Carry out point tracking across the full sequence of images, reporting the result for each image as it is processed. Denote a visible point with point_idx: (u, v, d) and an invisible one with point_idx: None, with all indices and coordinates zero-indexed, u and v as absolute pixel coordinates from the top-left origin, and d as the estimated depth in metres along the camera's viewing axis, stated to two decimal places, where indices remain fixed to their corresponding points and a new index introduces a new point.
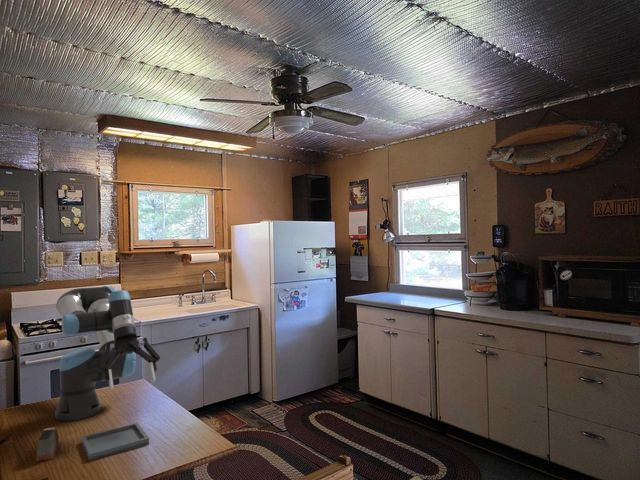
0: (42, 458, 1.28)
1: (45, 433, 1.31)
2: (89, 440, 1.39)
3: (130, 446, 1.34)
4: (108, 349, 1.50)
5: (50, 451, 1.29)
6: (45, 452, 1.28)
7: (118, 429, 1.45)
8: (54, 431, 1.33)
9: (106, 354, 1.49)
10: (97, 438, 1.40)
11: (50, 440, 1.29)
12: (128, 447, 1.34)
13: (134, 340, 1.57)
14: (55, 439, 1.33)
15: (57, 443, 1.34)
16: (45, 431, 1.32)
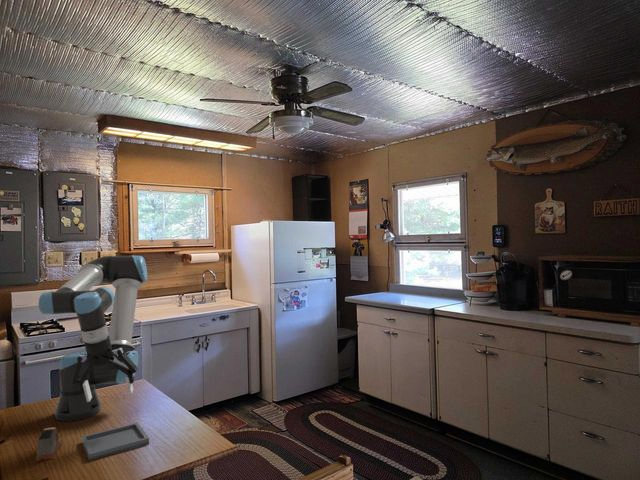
0: (42, 458, 1.28)
1: (45, 433, 1.31)
2: (89, 440, 1.39)
3: (130, 446, 1.34)
4: (80, 364, 1.42)
5: (50, 450, 1.29)
6: (45, 452, 1.28)
7: (118, 429, 1.45)
8: (54, 431, 1.33)
9: (78, 369, 1.42)
10: (97, 438, 1.40)
11: (50, 440, 1.29)
12: (128, 447, 1.34)
13: (107, 353, 1.43)
14: (55, 439, 1.33)
15: (57, 443, 1.34)
16: (46, 430, 1.32)
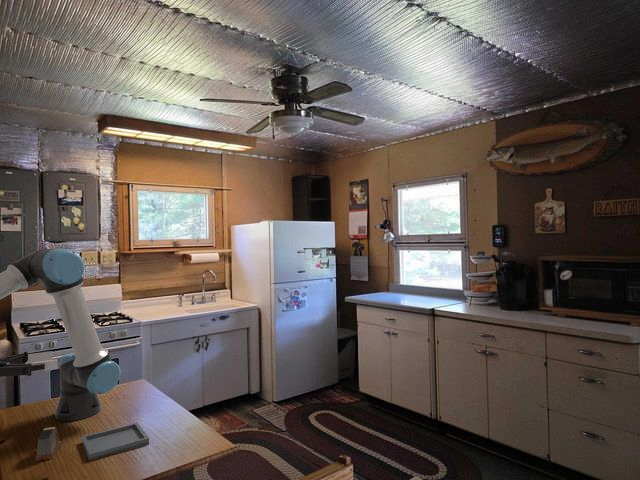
0: (42, 458, 1.28)
1: (45, 432, 1.31)
2: (89, 440, 1.39)
3: (130, 446, 1.34)
4: None
5: (50, 450, 1.29)
6: (45, 452, 1.28)
7: (118, 429, 1.45)
8: (54, 431, 1.33)
9: None
10: (97, 438, 1.40)
11: (50, 440, 1.29)
12: (128, 447, 1.34)
13: None
14: (55, 439, 1.33)
15: (57, 443, 1.34)
16: (45, 430, 1.32)
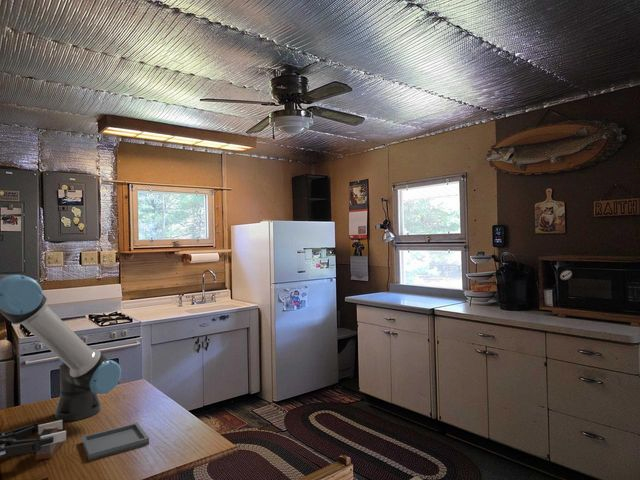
0: (41, 457, 1.28)
1: (45, 432, 1.31)
2: (89, 440, 1.39)
3: (130, 446, 1.34)
4: None
5: (49, 450, 1.29)
6: (45, 451, 1.29)
7: (118, 429, 1.45)
8: (55, 430, 1.33)
9: None
10: (97, 438, 1.40)
11: None
12: (128, 447, 1.34)
13: None
14: None
15: (57, 442, 1.34)
16: (46, 430, 1.32)
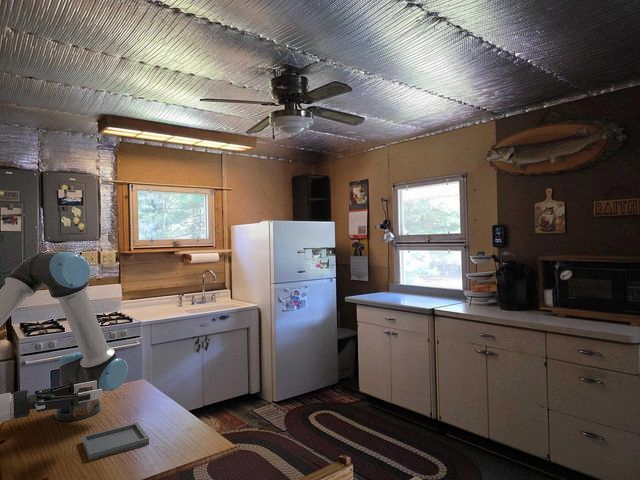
0: (78, 414, 1.30)
1: (82, 390, 1.33)
2: (89, 440, 1.39)
3: (130, 446, 1.34)
4: None
5: (86, 407, 1.31)
6: (82, 408, 1.31)
7: (118, 429, 1.45)
8: (90, 389, 1.35)
9: None
10: (97, 438, 1.40)
11: None
12: (128, 447, 1.34)
13: None
14: None
15: (93, 401, 1.36)
16: (82, 388, 1.34)
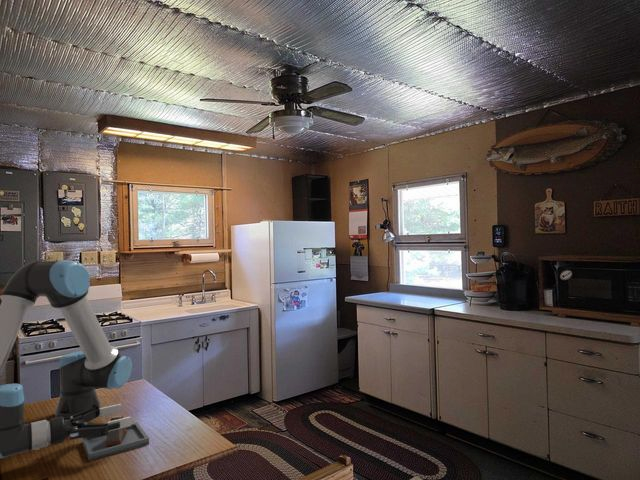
0: (111, 444, 1.34)
1: None
2: (89, 440, 1.39)
3: (130, 446, 1.34)
4: None
5: (118, 437, 1.34)
6: (114, 439, 1.34)
7: None
8: None
9: None
10: (97, 438, 1.40)
11: None
12: (128, 447, 1.34)
13: None
14: None
15: (124, 430, 1.40)
16: (113, 418, 1.38)
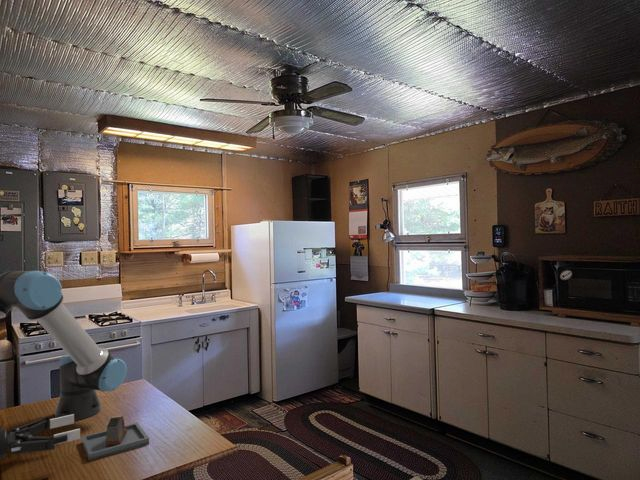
0: (110, 444, 1.34)
1: (113, 420, 1.37)
2: (89, 440, 1.39)
3: (130, 446, 1.34)
4: None
5: (118, 437, 1.35)
6: (113, 439, 1.34)
7: None
8: (121, 419, 1.39)
9: None
10: (97, 438, 1.40)
11: (117, 427, 1.35)
12: (128, 447, 1.34)
13: None
14: (122, 426, 1.39)
15: (123, 430, 1.40)
16: (113, 418, 1.38)
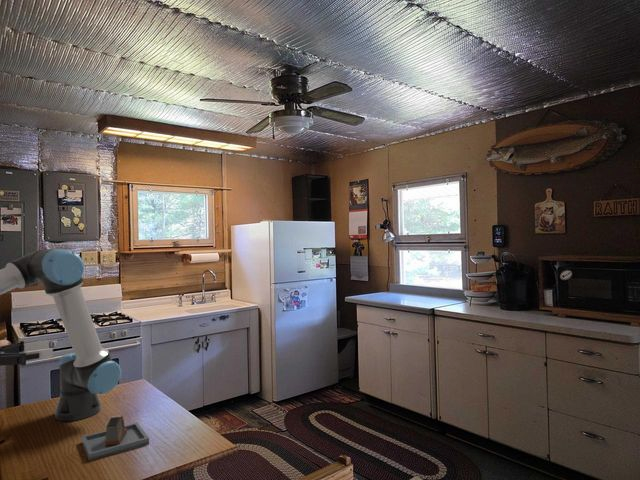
0: (110, 444, 1.34)
1: (113, 420, 1.37)
2: (89, 440, 1.39)
3: (130, 446, 1.34)
4: None
5: (117, 437, 1.35)
6: (113, 438, 1.34)
7: None
8: (121, 419, 1.39)
9: None
10: (97, 438, 1.40)
11: (117, 427, 1.35)
12: (128, 447, 1.34)
13: None
14: (121, 426, 1.39)
15: (123, 430, 1.40)
16: (113, 418, 1.38)
